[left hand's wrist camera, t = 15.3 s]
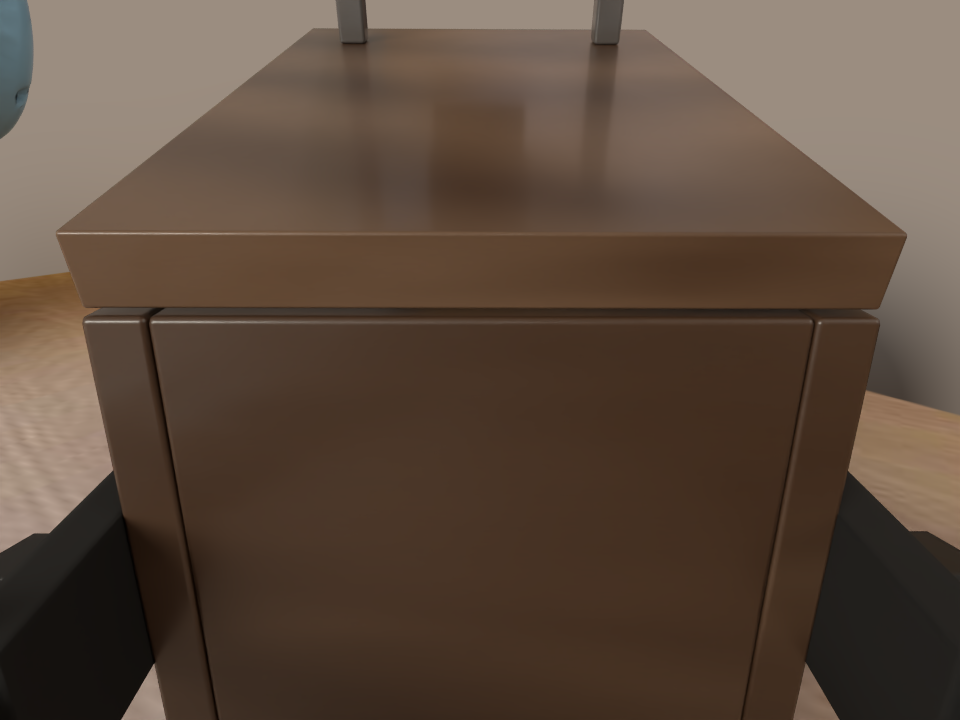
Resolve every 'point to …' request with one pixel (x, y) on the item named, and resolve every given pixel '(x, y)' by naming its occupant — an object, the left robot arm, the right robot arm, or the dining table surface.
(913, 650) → the left robot arm
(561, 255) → the lid
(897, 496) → the dining table surface
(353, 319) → the chest
